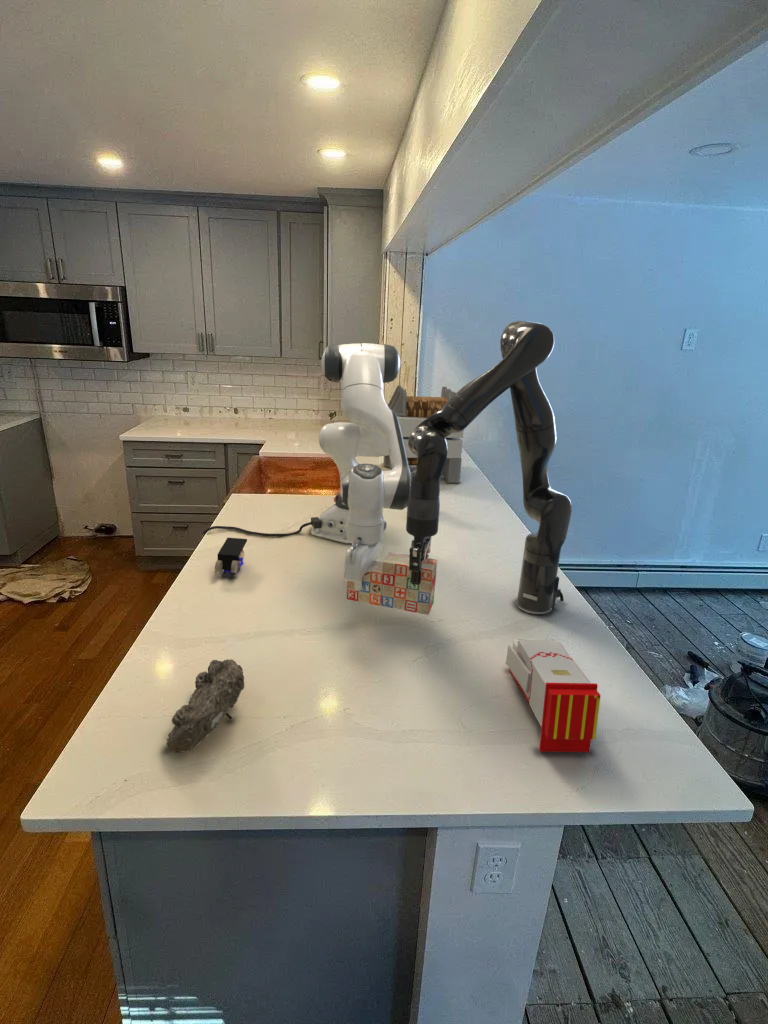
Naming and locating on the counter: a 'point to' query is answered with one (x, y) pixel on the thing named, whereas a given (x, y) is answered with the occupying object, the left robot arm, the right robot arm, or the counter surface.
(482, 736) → the counter surface
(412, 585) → the stack of blocks
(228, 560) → the figurine character
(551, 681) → the toy
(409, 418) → the grey slatted crate
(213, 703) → the fossil
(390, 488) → the left robot arm
